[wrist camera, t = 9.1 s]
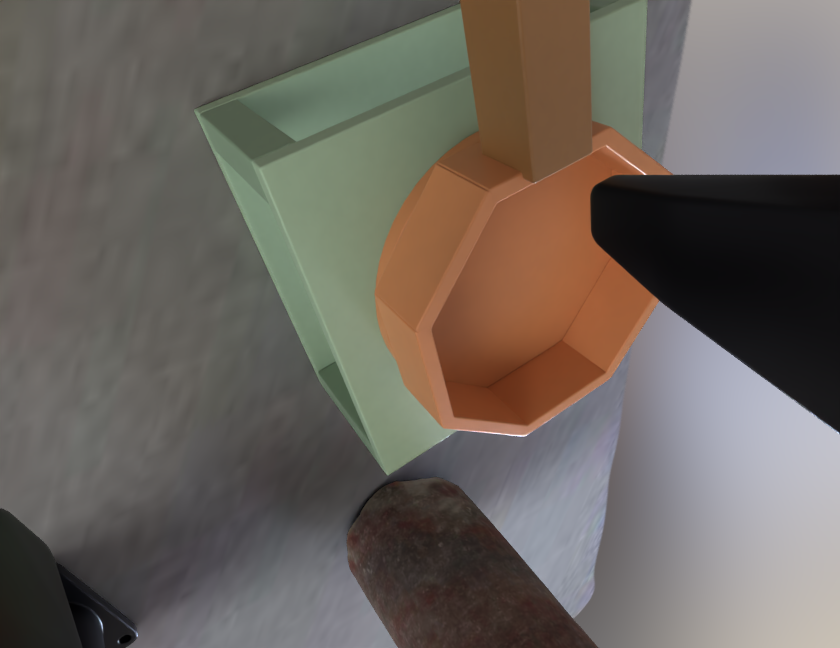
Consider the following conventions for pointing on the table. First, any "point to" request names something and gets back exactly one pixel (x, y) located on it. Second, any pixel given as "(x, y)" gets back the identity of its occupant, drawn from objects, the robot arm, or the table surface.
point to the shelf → (375, 187)
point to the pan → (513, 236)
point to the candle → (450, 574)
